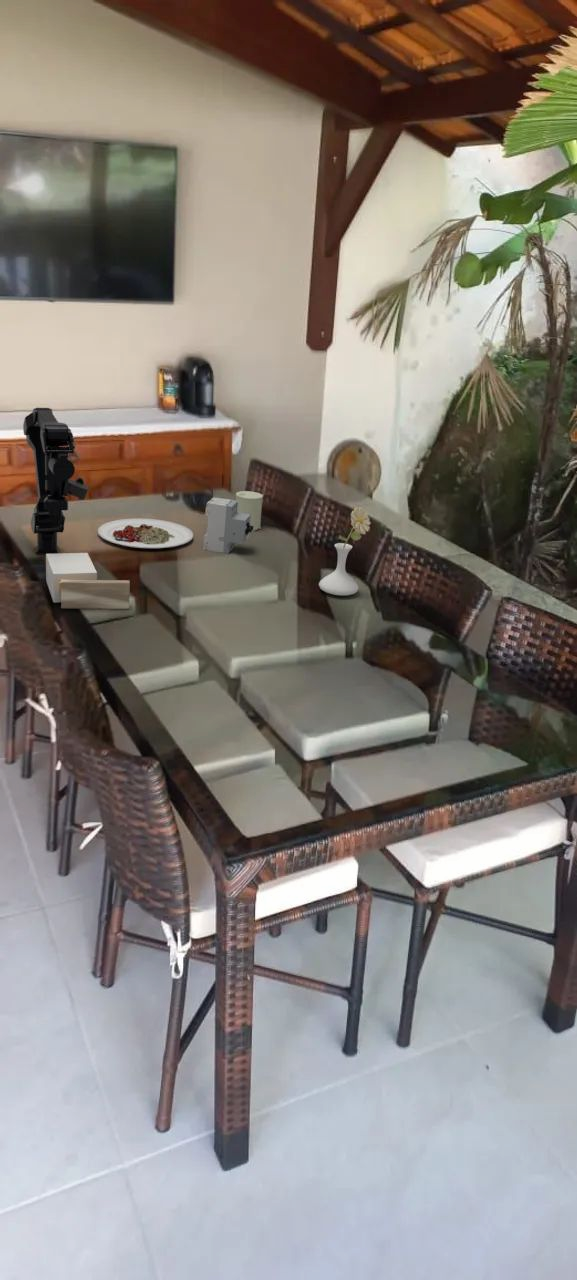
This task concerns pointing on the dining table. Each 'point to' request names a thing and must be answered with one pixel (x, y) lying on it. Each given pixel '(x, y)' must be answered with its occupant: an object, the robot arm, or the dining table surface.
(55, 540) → the robot arm
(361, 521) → the flower in vase
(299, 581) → the dining table surface
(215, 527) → the circuit breaker
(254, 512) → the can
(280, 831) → the dining table surface
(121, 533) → the plated food
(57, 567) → the box
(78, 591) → the board
